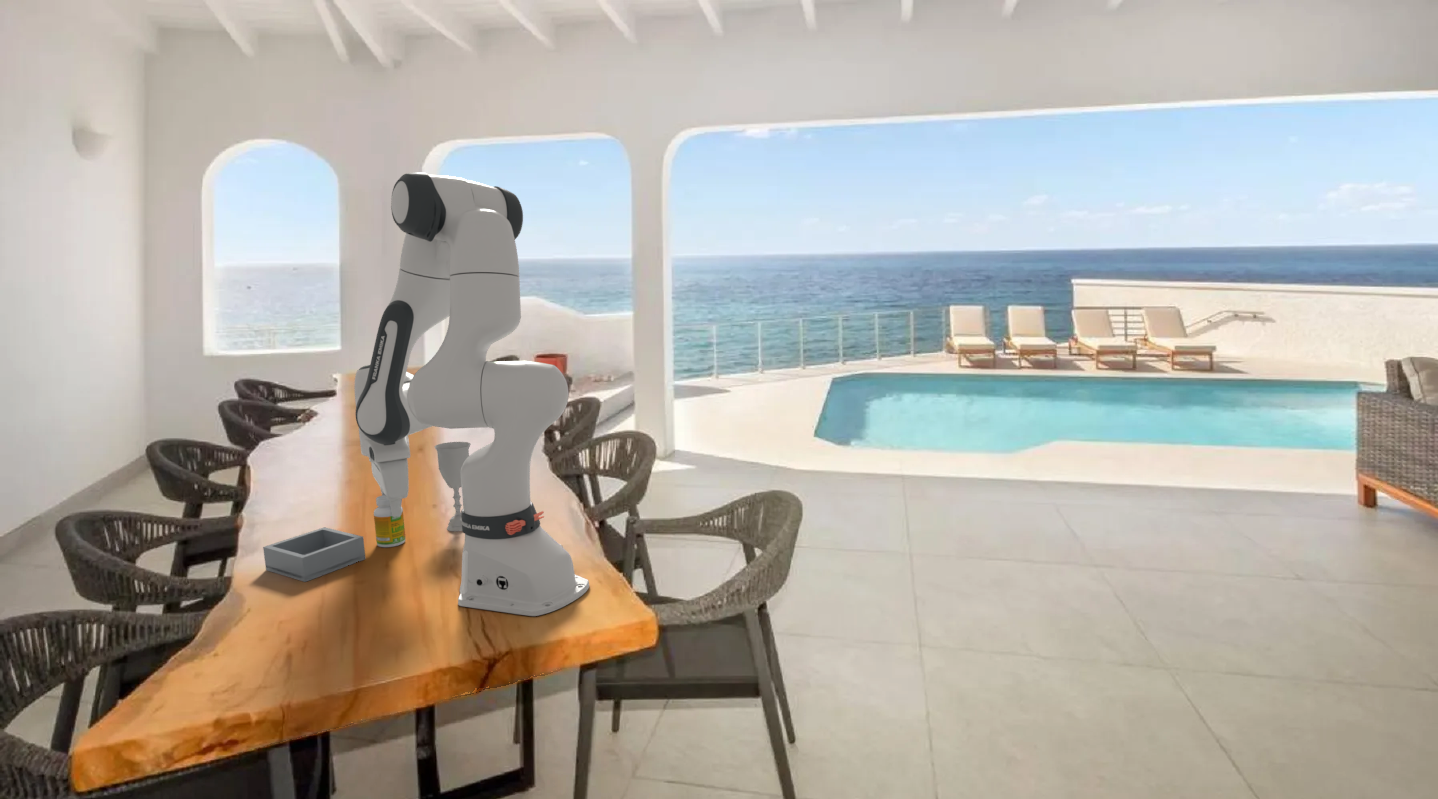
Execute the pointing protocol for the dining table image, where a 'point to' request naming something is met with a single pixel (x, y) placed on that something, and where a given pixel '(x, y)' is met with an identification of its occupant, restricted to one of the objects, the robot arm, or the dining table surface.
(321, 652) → the dining table surface
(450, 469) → the chalice
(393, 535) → the supplement bottle
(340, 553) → the tray
